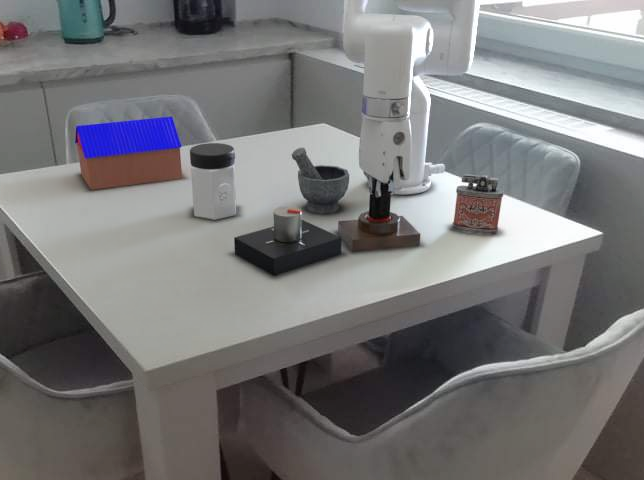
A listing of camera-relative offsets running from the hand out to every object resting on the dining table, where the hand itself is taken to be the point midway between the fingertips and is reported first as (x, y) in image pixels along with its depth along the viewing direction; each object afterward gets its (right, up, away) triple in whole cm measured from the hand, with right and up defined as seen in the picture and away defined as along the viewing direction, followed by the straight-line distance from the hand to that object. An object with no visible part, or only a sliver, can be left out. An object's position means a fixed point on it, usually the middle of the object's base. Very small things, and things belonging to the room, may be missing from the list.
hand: (379, 216), depth 129 cm
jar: (-29, +3, +14) cm, 33 cm away
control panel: (-16, -7, -3) cm, 17 cm away
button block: (0, -3, +2) cm, 4 cm away
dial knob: (-16, -4, -5) cm, 17 cm away
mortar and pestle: (-10, +4, +16) cm, 19 cm away
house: (-49, +15, +33) cm, 61 cm away
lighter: (+18, -1, +6) cm, 19 cm away
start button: (0, -1, +1) cm, 2 cm away
